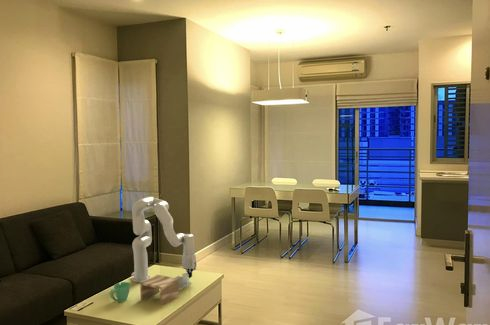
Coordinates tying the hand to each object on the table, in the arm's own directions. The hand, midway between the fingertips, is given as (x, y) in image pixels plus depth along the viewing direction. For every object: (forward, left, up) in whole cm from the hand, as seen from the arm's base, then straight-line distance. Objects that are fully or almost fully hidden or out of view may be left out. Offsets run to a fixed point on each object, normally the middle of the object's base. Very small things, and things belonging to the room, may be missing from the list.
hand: (189, 277), depth 287 cm
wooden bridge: (0, -32, -4) cm, 32 cm away
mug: (-19, -48, -4) cm, 51 cm away
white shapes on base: (0, -12, -4) cm, 13 cm away
